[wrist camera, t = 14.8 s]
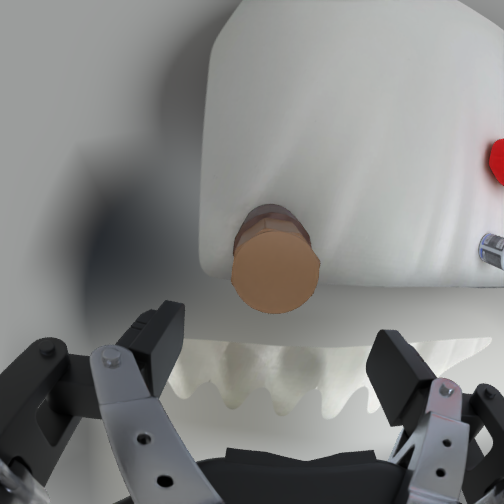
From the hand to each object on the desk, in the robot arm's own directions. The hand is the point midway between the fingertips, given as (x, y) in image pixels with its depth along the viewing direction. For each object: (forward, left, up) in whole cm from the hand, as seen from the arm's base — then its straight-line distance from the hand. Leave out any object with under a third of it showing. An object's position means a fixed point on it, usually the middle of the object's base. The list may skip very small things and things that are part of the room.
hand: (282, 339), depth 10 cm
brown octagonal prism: (0, 0, -14) cm, 14 cm away
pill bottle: (+36, +4, -24) cm, 43 cm away
